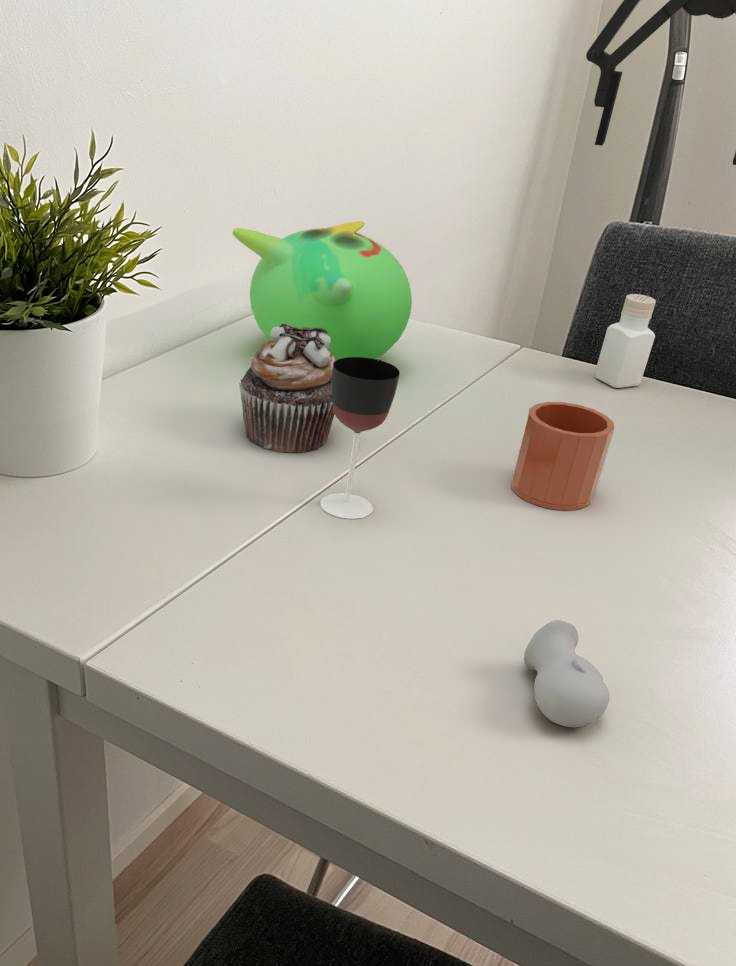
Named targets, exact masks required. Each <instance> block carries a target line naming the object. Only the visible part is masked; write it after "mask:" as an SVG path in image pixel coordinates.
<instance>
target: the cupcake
mask: <svg viewBox="0 0 736 966" xmlns="http://www.w3.org/2000/svg"><path fill="white" fill-rule="evenodd" d="M270 339H271V342H270V341H269V342H267V343H265V344H263V345H262V346H261V347H259V351H257V352H256V353H254V355H253V356H252V358H251V360H250V367H249V368H248V369H247V370H246V372H245V374H244V375H243V377H242V378H241V379H240V382H239V383H238V384H239V385H238V386H239V387H238V388H239V392H240V399H241V407H242V418H243V425H244V430H245V436H246V437H247V439H249V441H250V442H252V443H254V444H255V445H257V446H258V447H261V448H263V449H266V450H270V451H274V452H280V453H286V454H287V453H292V454H293V453H309V452H311V451H316V450H319V448H321V447H324V445H325V444H326V443H327V442H328V439H329V435H330V431H331V427H332V424H333V422H334V418H335V414H334V410H333V402H332V372H333V363H334V362H335V361H336V358H335V356H334V355H333V354H332V353H331V352H330V351H328V350H329V346H330V342H331V338H330V337H329V336H328V335H327V330H325V329H322V328H308V327H303V328H294V327H291V326H289V325H287V324H281V325H280V327H273V328H272V330H271V333H270Z"/></svg>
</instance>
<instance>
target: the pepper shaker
mask: <svg viewBox="0 0 736 966" xmlns="http://www.w3.org/2000/svg"><path fill="white" fill-rule="evenodd" d="M656 302H657V300H656V298H653V297H651V296H648V295H644V294H640V293H639V294H638V293H630V294H626V296H625V299H624V303H623V307H622V310H621V312H620V314H621V316H620V319H619V321H618V322H615V323H612V324H610V325H609V326H608V327H607V328H606V331H605V335H604V338H603V342H602V346H601V349H600V353H599V356H598V359H597V364H596V367H595V371H594V377H595V378H596V379H598V380H599V381H601V382H602V383H605V384H607V385H609V386H610V387H612V388H614V389H620V388H629V387H636V386H639V385H640V384H641V383H642V380H643V376H644V373H645V370H646V366H647V363H648V361H649V358H650V354H651V351H652V348H653V345H654V341H655V339H656V335H655V332H653V330H651V329H650V327H649V324H650V320H651V319H652V315H653V312H654V309H655V307H656Z"/></svg>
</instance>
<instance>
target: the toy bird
mask: <svg viewBox="0 0 736 966" xmlns="http://www.w3.org/2000/svg"><path fill="white" fill-rule="evenodd" d="M365 225H366V222H365V221H350V222H345V223H340V224H336V225H333V226H328V227H317V228H309V229H305V230H299V231H296V232H293V233H291V234H289V235H287V236H285V237H283V238H280V237H277V236H273V235H270V234H266V233H263V232H259V231H256V230H251V229H248V228H241V227H239V228H234V229H233V230H232V235H233V236H234V238H236V240H237V241H239V242H240V243H241V244H243V245H244V246H245V247H246V248H248V249H249V250H251V251H252V252H253V253H255V254H256V255H258V256H259V257H260V259H259V261H258V263H257V264H256V266H255V269H254V271H253V274H252V278H251V281H250V287H249V299H250V308H251V311H252V314H253V318H254V320H255V322H256V324H257V326H258V327H259V329H260V330H261V332H262V334H263V335H264V336H265V337H266V338H267V339H268V341H269V342H271V339H270V333H271V330H272V328H273V327H280V325H281V324H287V325H289V326H291V327H294V328H303V327H308V328H322V329H325V330H327V335H328V336H329V337H330V338H331V342H330V346H329V350H328V351H330V352H331V353H332V354H333V355H334V356H335V358H336V360H338V359H341V358H347V357H364V358H371V359H376V360H378V358H380V357H382V356H384V354H386V353H387V352H389V351H390V350H391V349H392V348H393V347H394V346H395V345H396V344H397V342H398V341H399V339H400V338H401V337H402V335H403V333H404V332H405V330H406V328H407V325H408V324H409V321H410V316H411V312H412V306H413V302H412V301H413V299H412V297H413V296H412V290H411V285H410V281H409V278H408V276H407V273H406V272H405V269H404V268H403V266H402V265H401V263H400V262H399V260H398V259H397V258H396V257H395V256H394V254H392V252H390V251H389V250H388V249H387V248H386V247H385V246H384V245H382V244H380V243H379V242H378V241H375V240H374V239H372V238H371V237H368V236H366V235H364V234H361V233H359V232H358V231H360V230H361V229H362V228H363V227H364V226H365Z"/></svg>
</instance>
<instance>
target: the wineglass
mask: <svg viewBox="0 0 736 966" xmlns="http://www.w3.org/2000/svg"><path fill="white" fill-rule="evenodd" d="M400 375H401V371H400V369H399V368H398V367H397V366H395V365H393V364H392V363H389V362H387V361H384V360H380V359H371V358H364V357H347V358H341V359H338V360H336V361H335V362H334V363H333V372H332V402H333V410H334V414H335V415H334V417H335V418H336V419H337V420H338V421H339V422H340V423H341V424H342V425H343V426H345V427H347V428H348V429H349V430H351V431H353V438H352V439H353V441H352V445H351V453H350V460H349V467H348V474H347V480H346V488H345V493H343V492H342V493H341V492H340V493H339V492H338V493H337V492H335V493H330V494H327V495H325V496H323V497H322V498H321V499H320V502H319V505H320V508H321V509H322V510H323V511H324V512H325V513H327V514H329V515H331V516H334V517H337V518H341V519H347V520H348V519H349V520H352V519H353V520H354V519H356V520H357V519H362V518H366V517H368V516H369V515H371V514H372V513H373V512H374V511H373V510H374V506H373V505H372V503H371V502H370V501H368V499H366V498H364V497H362V496H359V495H356V494H352V490H353V482H354V476H355V469H356V463H357V455H358V449H359V443H360V442H359V441H360V437H361V436H360V435H361V433H362V432H367V431H371V430H373V429H375V428H378V427H379V426H381V425H382V424H383V423H384V422H385V421H386V419H387V417H388V415H389V412H390V410H391V408H392V405H393V402H394V399H395V395H396V392H397V387H398V384H399V379H400Z"/></svg>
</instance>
